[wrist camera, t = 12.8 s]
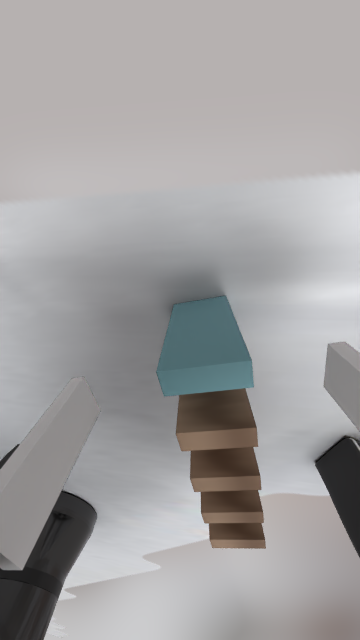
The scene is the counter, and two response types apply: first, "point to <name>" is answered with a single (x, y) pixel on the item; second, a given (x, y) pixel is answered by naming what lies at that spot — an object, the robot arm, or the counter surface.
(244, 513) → the domino
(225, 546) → the domino
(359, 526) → the battery charger
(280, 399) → the counter surface
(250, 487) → the domino
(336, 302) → the counter surface
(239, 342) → the domino
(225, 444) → the domino
